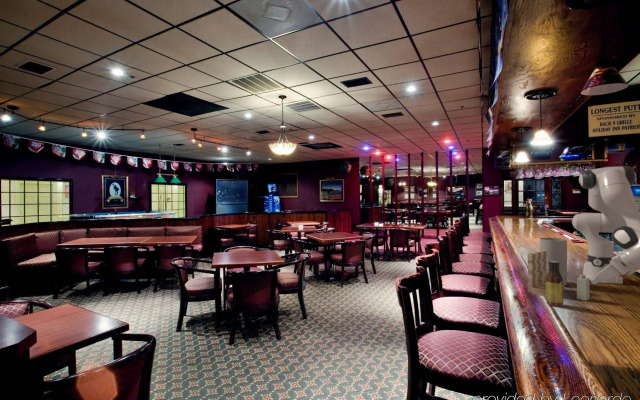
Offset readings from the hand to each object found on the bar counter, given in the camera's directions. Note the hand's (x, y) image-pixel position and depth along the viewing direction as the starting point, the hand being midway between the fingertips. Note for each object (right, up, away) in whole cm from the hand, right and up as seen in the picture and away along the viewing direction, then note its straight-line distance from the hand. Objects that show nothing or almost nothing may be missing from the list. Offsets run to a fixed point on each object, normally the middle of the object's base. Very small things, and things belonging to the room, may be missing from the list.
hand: (595, 281), depth 146 cm
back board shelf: (-12, -10, +16) cm, 22 cm away
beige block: (-3, -10, +4) cm, 11 cm away
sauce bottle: (-22, -10, -3) cm, 24 cm away
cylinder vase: (+3, -9, +31) cm, 33 cm away
